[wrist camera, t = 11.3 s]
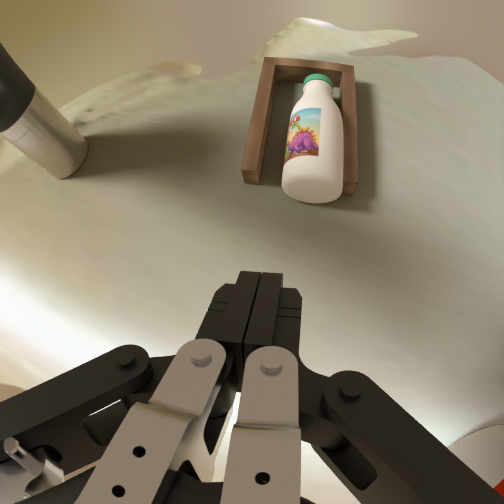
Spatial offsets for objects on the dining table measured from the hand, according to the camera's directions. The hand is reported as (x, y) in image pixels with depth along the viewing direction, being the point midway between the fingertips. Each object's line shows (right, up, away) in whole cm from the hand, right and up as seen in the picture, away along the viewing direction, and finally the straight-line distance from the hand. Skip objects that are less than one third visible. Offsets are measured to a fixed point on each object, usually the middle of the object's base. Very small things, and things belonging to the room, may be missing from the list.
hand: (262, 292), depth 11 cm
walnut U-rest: (+8, +20, +33) cm, 39 cm away
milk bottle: (+7, +9, +26) cm, 28 cm away
